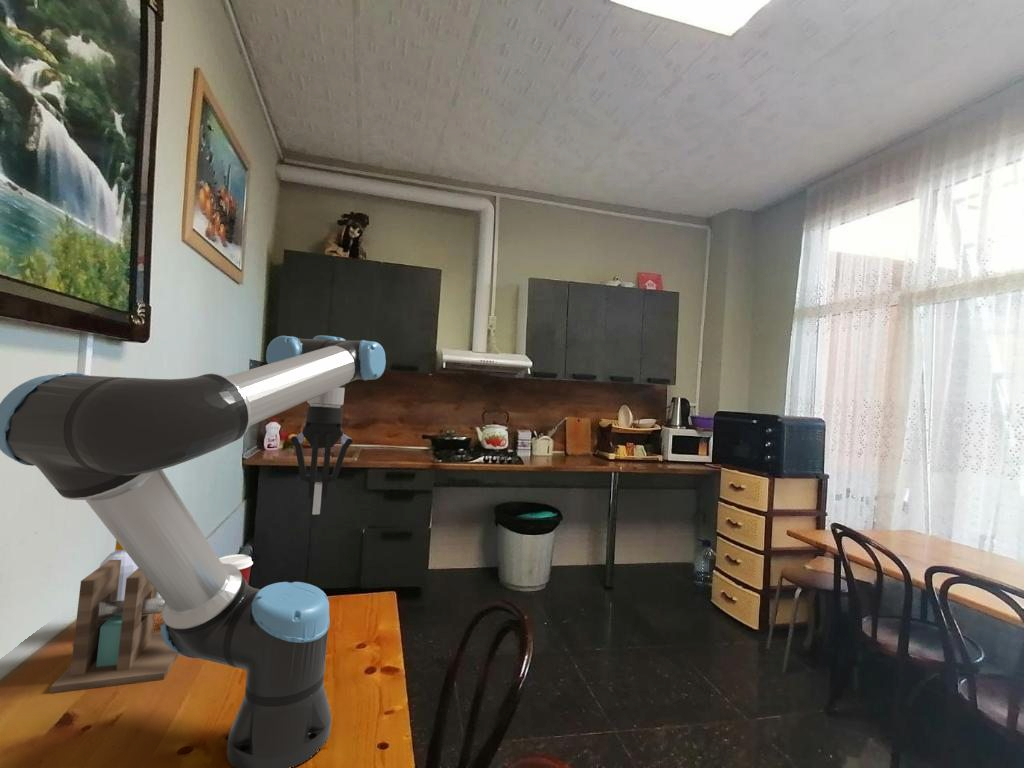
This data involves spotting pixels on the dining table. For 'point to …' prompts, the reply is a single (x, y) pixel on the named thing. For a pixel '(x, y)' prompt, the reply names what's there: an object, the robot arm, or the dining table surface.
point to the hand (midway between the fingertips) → (316, 512)
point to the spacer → (109, 642)
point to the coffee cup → (239, 564)
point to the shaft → (116, 607)
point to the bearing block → (138, 644)
